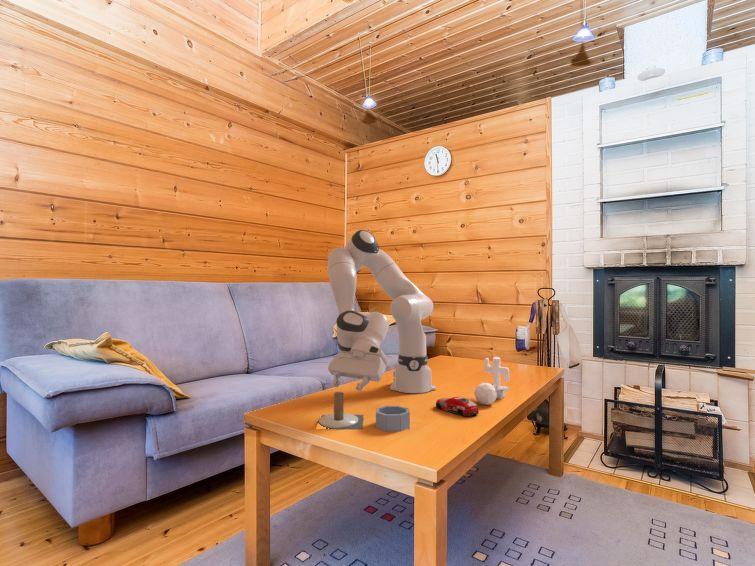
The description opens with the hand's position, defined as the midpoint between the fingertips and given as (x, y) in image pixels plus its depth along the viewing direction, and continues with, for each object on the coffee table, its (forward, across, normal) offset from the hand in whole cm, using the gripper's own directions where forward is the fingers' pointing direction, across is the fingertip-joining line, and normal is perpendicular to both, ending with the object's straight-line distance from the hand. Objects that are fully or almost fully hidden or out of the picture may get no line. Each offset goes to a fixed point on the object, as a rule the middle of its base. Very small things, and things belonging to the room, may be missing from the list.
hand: (346, 387), depth 137 cm
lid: (+10, +1, +3) cm, 11 cm away
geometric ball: (-21, +32, +35) cm, 52 cm away
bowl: (+6, +17, +8) cm, 19 cm away
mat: (+10, +1, +4) cm, 11 cm away
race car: (-12, +27, +26) cm, 39 cm away
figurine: (-30, +33, +44) cm, 62 cm away
